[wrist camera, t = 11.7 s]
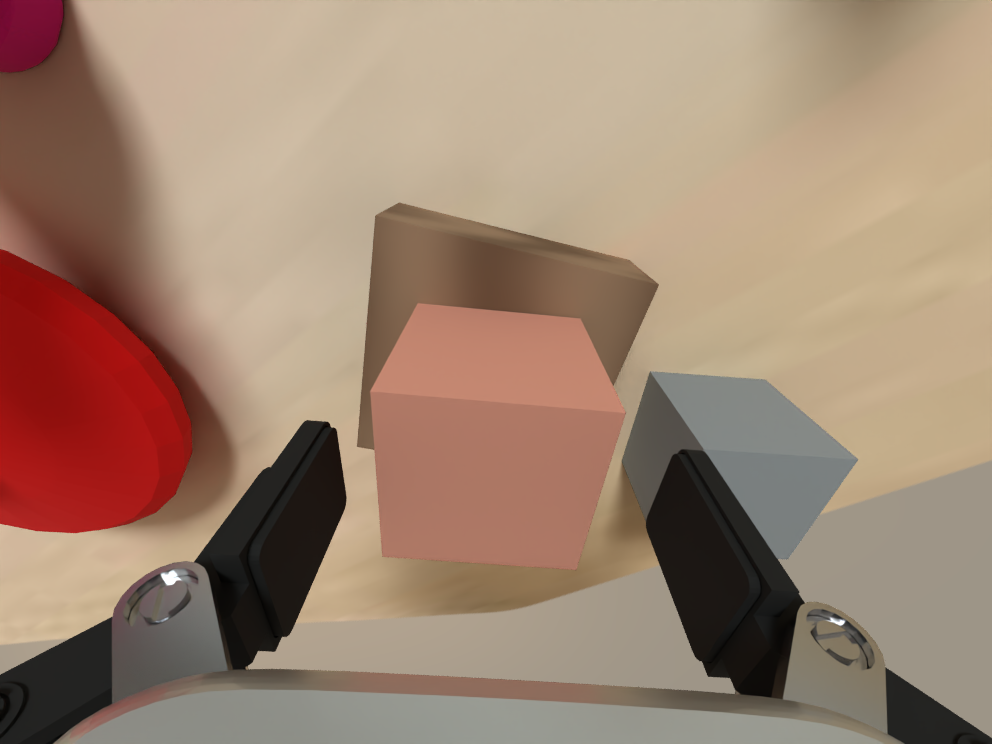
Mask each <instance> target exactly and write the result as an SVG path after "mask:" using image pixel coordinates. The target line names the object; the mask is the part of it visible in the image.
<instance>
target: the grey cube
mask: <svg viewBox="0 0 992 744" xmlns="http://www.w3.org/2000/svg"><path fill="white" fill-rule="evenodd" d="M681 449H689V450H702V451H704V452H705V453H706V454H707V455H708V456H709V458H710V459H711V461H712V462H713V464H714V465H715V467H716V468H717V470H718V471H719V473H720V474H721V476H722V477H723V479H724V480H725V482H726V483H727V485H728V486H729V488H730V489H731V491H732V492H733V494H734V495H735V497H736V498H737V500H738V501H739V503H740V504H741V506H742V507H743V509H744V510H745V512H746V513H747V515H748V516H749V518H750V519H751V521H752V522H753V524H754V525H755V526H756V528H757V529H758V531H759V532H760V534H761V535H762V537H763V538H764V540H765V541H766V543H767V544H768V546H769V547H770V549H771V550H772V552H773V553H774V555H775V556H776V558H777V559H788V558H789V557H790V555H791V554H792V552H793V551H794V550H795V548H796V547H797V545H798V544H799V543H800V541H801V540H802V538H803V537H804V535H805V534H806V533H807V531H808V530H809V528H810V527H811V526H812V524H813V523H814V521H815V520H816V519H817V517H818V516H819V514H820V513H821V511H822V510H823V509H824V507H825V506H826V504H827V503H828V502H829V500H830V499H831V497H832V496H833V495H834V493H835V492H836V490H837V489H838V488H839V486H840V485H841V483H842V482H843V480H844V479H845V478H846V476H847V475H848V473H849V472H850V471H851V469H852V468H853V466H854V465H855V464H856V462H857V461H858V459H857V458H856V457H855V456H854V455H853V454H851V453H850V452H849V451H848V450H847V449H846V448H844V447H843V446H842V445H841V444H840V443H839V442H837V441H836V440H835V439H834V438H833V437H832V436H830V435H829V434H828V433H827V432H826V431H825V430H823V429H822V428H821V427H820V426H819V425H818V424H816V423H815V422H814V421H813V420H812V419H811V418H809V417H808V416H807V415H806V414H805V413H804V412H802V411H801V410H800V409H799V408H798V407H797V406H795V405H794V404H793V403H792V402H791V401H790V400H788V399H787V398H786V397H785V396H784V395H783V394H781V393H780V392H779V391H778V390H777V389H776V388H774V387H773V386H772V385H771V384H770V383H769V382H767V381H766V380H762V379H748V378H734V377H720V376H706V375H692V374H678V373H665V372H651V371H650V373H649V377H648V380H647V383H646V386H645V389H644V392H643V395H642V399H641V402H640V405H639V408H638V411H637V414H636V418H635V421H634V424H633V427H632V430H631V433H630V437H629V440H628V443H627V446H626V449H625V452H624V455H623V459H622V463H623V465H624V468H625V470H626V473H627V475H628V478H629V480H630V483H631V485H632V488H633V490H634V493H635V495H636V498H637V500H638V503H639V505H640V508H641V510H642V513H643V515H644V518H645V520H646V519H647V516H648V513H649V511H650V508H651V506H652V504H653V501H654V499H655V496H656V494H657V491H658V489H659V486H660V484H661V482H662V479H663V477H664V474H665V472H666V469H667V467H668V464H669V462H670V459H671V457H672V455H673V454H677V453H678V452H679V451H680V450H681Z"/></svg>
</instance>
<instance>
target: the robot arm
mask: <svg viewBox="0 0 992 744" xmlns="http://www.w3.org/2000/svg"><path fill="white" fill-rule="evenodd" d="M345 506H346V491H345V484H344V477H343V470H342V463H341V457H340V450H339V443H338V436H337V431H336V429H335V428H331V426H330V424H329V422H322V421H309V420H307V421H305V422H304V423H303V424H302V425H301V426H300V428H299V429H298V431H297V432H296V433H295V435H294V436H293V438H292V439H291V440H290V442H289V443H288V444H287V446H286V447H285V449H284V450H283V451H282V453H281V454H280V456H279V457H278V458H277V460H276V461H275V462H274V464H273V465H272V467H268V468H266V469H264V470H263V471H262V472H261V473H260V474H259V475H258V477H257V478H256V479H255V481H254V482H253V483H252V485H251V486H250V487H249V489H248V490H247V491H246V493H245V494H244V495H243V497H242V498H241V500H240V501H239V502H238V504H237V505H236V506H235V508H234V509H233V510H232V512H231V513H230V514H229V516H228V517H227V518H226V520H225V521H224V522H223V524H222V525H221V526H220V528H219V529H218V530H217V532H216V533H215V535H214V536H213V537H212V539H211V540H210V541H209V543H208V544H207V545H206V547H205V548H204V549H203V551H202V552H201V553H200V555H199V556H198V557H197V559H196V560H195V561H194V562H188V561H185V562H177V563H172V564H169V565H166V566H163V567H160V568H158V569H156V570H154V571H152V572H150V573H148V574H147V575H145V576H144V577H142V578H141V579H140V580H138V581H137V582H136V583H134V584H133V585H132V586H131V587H130V588H129V589H128V590H127V591H126V592H125V593H124V594H123V595H122V597H121V598H120V600H119V602H118V603H117V605H116V607H115V608H114V613H113V617H111V618H109V619H107V620H105V621H103V622H101V623H99V624H97V625H95V626H94V627H92V628H90V629H88V630H86V631H84V632H82V633H80V634H78V635H76V636H74V637H72V638H70V639H68V640H67V641H65V642H63V643H61V644H59V645H57V646H55V647H53V648H51V649H49V650H47V651H45V652H43V653H41V654H39V655H38V656H36V657H34V658H32V659H30V660H28V661H26V662H24V663H22V664H20V665H18V666H16V667H14V668H12V669H11V670H9V671H7V672H5V673H3V674H1V675H0V744H992V738H991V737H989V736H988V735H986V734H984V733H983V732H982V731H980V730H979V729H977V728H976V727H974V726H973V725H971V724H970V723H968V722H967V721H965V720H963V719H962V718H960V717H959V716H958V715H956V714H954V713H953V712H952V711H950V710H949V709H947V708H946V707H944V706H943V705H941V704H940V703H938V702H937V701H935V700H934V699H932V698H931V697H929V696H928V695H926V694H925V693H923V692H922V691H920V690H919V689H917V688H916V687H914V686H913V685H911V684H909V683H908V682H907V681H905V680H904V679H902V678H901V677H899V676H898V675H896V674H895V673H893V672H892V671H890V670H889V669H887V668H886V667H885V663H884V658H883V655H882V653H881V651H880V649H879V647H878V646H877V644H876V642H875V641H874V640H873V638H872V637H871V636H870V635H869V634H868V632H867V631H866V630H864V628H863V627H861V626H860V625H859V624H858V623H857V622H856V621H855V620H854V619H852V618H851V617H849V616H848V615H846V614H845V613H843V612H842V611H840V610H838V609H836V608H834V607H832V606H830V605H827V604H823V603H819V602H807V603H804V601H803V600H802V598H801V597H800V595H799V594H798V593H799V591H798V589H797V588H796V586H795V585H794V583H793V582H792V580H791V579H790V577H789V576H788V574H787V573H786V571H785V570H784V569H783V567H782V565H781V564H780V562H779V561H778V559H777V558H776V556H775V555H774V553H773V552H772V550H771V549H770V547H769V546H768V544H767V543H766V541H765V540H764V538H763V537H762V535H761V534H760V532H759V531H758V529H757V528H756V526H755V525H754V524H753V522H752V521H751V519H750V518H749V516H748V515H747V513H746V512H745V510H744V509H743V507H742V506H741V504H740V503H739V501H738V500H737V498H736V497H735V495H734V494H733V492H732V491H731V489H730V488H729V486H728V485H727V483H726V482H725V480H724V479H723V477H722V476H721V474H720V473H719V471H718V470H717V468H716V467H715V465H714V464H713V462H712V461H711V459H710V458H709V456H708V455H707V454H706V453H705V452H704V451H702V450H689V449H681V450H680V451H679V452H678V453H677V454H673V455H672V457H671V459H670V462H669V464H668V467H667V469H666V472H665V474H664V477H663V479H662V482H661V484H660V486H659V489H658V491H657V494H656V496H655V499H654V501H653V504H652V506H651V508H650V511H649V513H648V516H647V519H646V529H647V532H648V535H649V538H650V540H651V543H652V546H653V548H654V551H655V553H656V556H657V559H658V561H659V564H660V567H661V569H662V572H663V575H664V577H665V580H666V582H667V585H668V587H669V590H670V593H671V596H672V598H673V601H674V604H675V606H676V608H677V611H678V614H679V616H680V619H681V622H682V625H683V627H684V630H685V633H686V635H687V638H688V640H689V643H690V646H691V648H692V651H693V653H694V655H695V657H696V658H697V659H698V660H699V661H702V663H703V665H704V668H705V670H706V673H707V675H708V677H725V678H730V679H731V681H732V683H733V686H734V688H735V690H736V691H735V694H726V693H714V692H701V691H688V690H672V689H656V688H640V687H622V686H607V685H591V684H573V683H556V682H539V681H538V682H537V681H521V680H503V679H485V678H467V677H449V676H429V675H409V674H389V673H370V672H350V671H321V670H320V671H319V670H289V669H252V670H251V669H250V670H249V669H248V665H250V664H251V663H252V662H253V660H254V658H255V656H256V654H257V652H258V651H272V652H274V651H276V649H277V647H278V644H279V642H280V640H281V638H282V637H287V636H288V635H289V634H290V633H291V631H292V629H293V627H294V625H295V622H296V620H297V618H298V615H299V613H300V611H301V608H302V606H303V604H304V602H305V599H306V597H307V595H308V592H309V590H310V588H311V585H312V583H313V581H314V579H315V576H316V574H317V572H318V569H319V567H320V565H321V562H322V560H323V558H324V556H325V553H326V551H327V549H328V546H329V544H330V542H331V539H332V537H333V535H334V533H335V530H336V528H337V526H338V523H339V521H340V519H341V516H342V514H343V512H344V509H345Z"/></svg>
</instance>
